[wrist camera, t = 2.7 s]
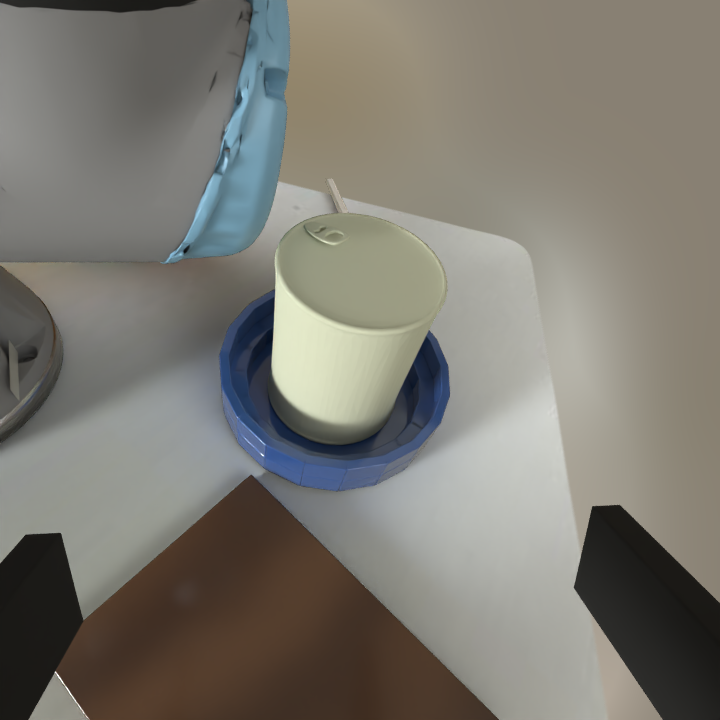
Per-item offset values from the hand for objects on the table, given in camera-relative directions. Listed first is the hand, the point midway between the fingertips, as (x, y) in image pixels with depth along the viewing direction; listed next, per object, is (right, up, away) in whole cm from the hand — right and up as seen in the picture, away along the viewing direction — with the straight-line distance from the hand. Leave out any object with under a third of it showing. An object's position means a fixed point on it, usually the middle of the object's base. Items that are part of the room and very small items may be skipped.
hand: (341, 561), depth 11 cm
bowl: (-2, +3, +21) cm, 21 cm away
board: (-3, -11, +10) cm, 15 cm away
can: (-1, +3, +21) cm, 21 cm away
